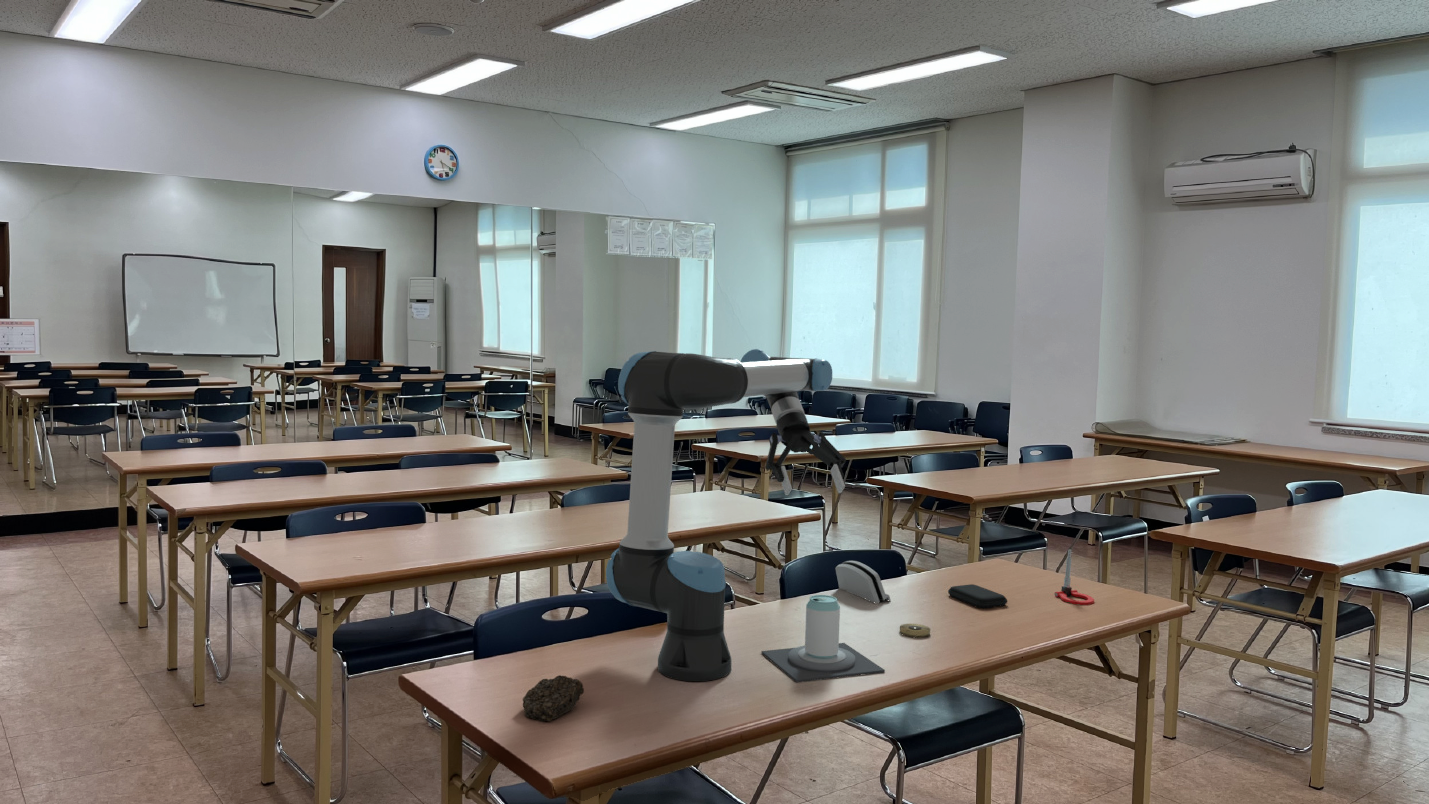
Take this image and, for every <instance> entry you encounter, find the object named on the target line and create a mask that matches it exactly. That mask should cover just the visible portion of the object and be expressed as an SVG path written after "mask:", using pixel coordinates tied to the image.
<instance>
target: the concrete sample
mask: <svg viewBox="0 0 1429 804" xmlns="http://www.w3.org/2000/svg"><path fill="white" fill-rule="evenodd" d="M584 689H585V688H584V685H583V683H582V681H580V680H579V679H578V678H572V677H568V676H566V675H557V676H555V677H554V678H550V679H548V678H542V679H541V680H540V681H538V682H537V684H535V685H534V687H532V688H530V689H528V691H527V692H526V694H525V696H523V697H522V702H523V703H522V707H523V711H524V713H523V715H524V716H525V717H526V718H528V719H529V718H530V719H533V720H535V721H539V722H540V723H541V722H551V721H552V720H555V719H558V718H559V717H560V716H562V715H564V714H566V713H568V712H570V711H571V710H574V708H575V706H576V704H577V702H578V701H579V700H580V697H581V696H582V695H583V694H584V693H585V690H584Z"/></svg>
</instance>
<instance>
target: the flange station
mask: <svg viewBox="0 0 1429 804" xmlns="http://www.w3.org/2000/svg"><path fill="white" fill-rule="evenodd" d="M760 653H761V655H763V656H764V657H765V658H766V657H767V658H766V659H768V661H770V662H771V661H772V662H773V663H772V662H771V663H772V664H774V666H776V665H777V666H778V667H779V668H778V667H777V666H776V667H777V668H778V669H780V670H781V671H782V670H783V671H782V672H783V673H784V674H785V675H787V676H788V677H789V678H790V679H792V680H793V681H794V682H795V681H796V682H795V683H802V681H804V682H811V680H813V681H820V679H822V680H827V679H826V678H830V679H835V678H836V679H837V677H839V678H848V677H855V676H856V675H857V676H862V675H861V674H866V675H873V673H874V674H881V673H882V674H883V673H885V672H886V670H885V669H884V668H882V667H881V666H880V665H878V663H877V664H876V663H875V662H874V661H872V660H871V659H870V658H867V656H864V654H862V653H860V652H859V651H858V650H856V649H854V648H853V647H851V646H850V645H849V644H847V643H845V642H840V643H839V648H838V654H836V655H835V656H833V657H831V658H816V657H812V656H810V655H809V654H808V653H807V652H806V651H805V645H800V646H797V647H790V648H789V647H788V648H779V649H777V648H776V649H770V650H761V652H760ZM847 676H848V677H847ZM857 676H856V677H857Z"/></svg>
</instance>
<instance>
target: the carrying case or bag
mask: <svg viewBox="0 0 1429 804" xmlns="http://www.w3.org/2000/svg"><path fill="white" fill-rule="evenodd" d="M947 592H948V595H949V596H950V597H951V598H954V599H955V598H956V599H955V600H957V601H960V602H963V603H965V604H968V605H970V606H972V607H975V606H976V608H977V609H978V608H979V609H981V608H982V609H993V608H1001V607H1004V606H1006V605H1007V604H1008V598H1006V596H1005V595H1004V594H1001V593H998V592H996V591H993V590H990V589H987V588H985V587H982V586H980V585H977V584H972V583H971V584H961V585H953V586H950V588H949V589H948V590H947Z"/></svg>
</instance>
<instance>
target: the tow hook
mask: <svg viewBox="0 0 1429 804" xmlns="http://www.w3.org/2000/svg"><path fill="white" fill-rule="evenodd" d="M1071 556H1072V549H1068V550H1067V557H1066V565H1065V575H1064V578H1063V586H1062V585H1061V591H1055V592H1054V597H1055V598H1059V599H1061V601H1063V602H1066V603H1067V602H1070V603H1069V604H1071V603H1072V604H1071V605H1077V604H1080V605H1079V606H1088V605H1089V604H1090V605H1093V604H1094V603H1095V598H1094V597H1092V596H1091V595H1088V594H1085V593H1080V592H1078V590H1077V589H1072V588H1073V587H1071V567H1072V557H1071ZM1070 596H1071V597H1075V598H1076V597H1077V598H1082V599H1084V600H1076V599H1072V598H1069V597H1070Z"/></svg>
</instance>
